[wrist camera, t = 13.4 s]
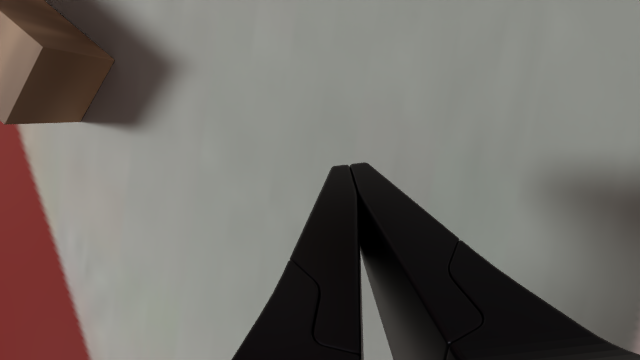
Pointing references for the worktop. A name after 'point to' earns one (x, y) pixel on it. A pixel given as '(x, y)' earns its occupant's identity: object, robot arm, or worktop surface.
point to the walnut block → (46, 65)
